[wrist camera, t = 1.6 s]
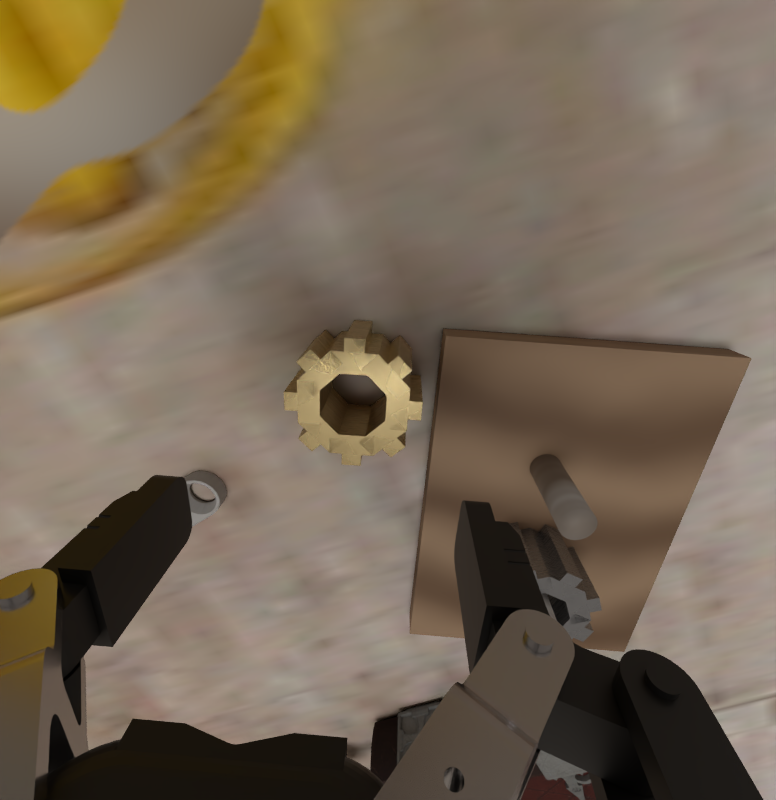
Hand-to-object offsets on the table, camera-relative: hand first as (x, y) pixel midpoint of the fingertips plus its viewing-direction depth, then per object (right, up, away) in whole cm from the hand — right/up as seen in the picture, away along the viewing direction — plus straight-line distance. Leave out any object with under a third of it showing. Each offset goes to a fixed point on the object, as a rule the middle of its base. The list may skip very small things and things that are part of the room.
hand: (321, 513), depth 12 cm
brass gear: (+1, +4, +10) cm, 11 cm away
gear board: (+11, -3, +12) cm, 17 cm away
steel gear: (+10, -6, +12) cm, 17 cm away
